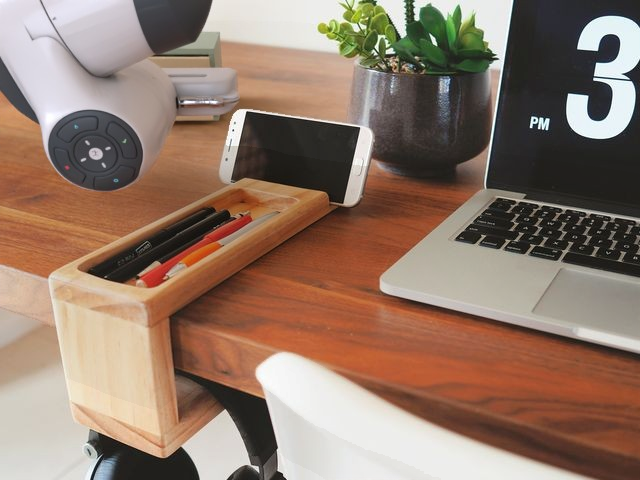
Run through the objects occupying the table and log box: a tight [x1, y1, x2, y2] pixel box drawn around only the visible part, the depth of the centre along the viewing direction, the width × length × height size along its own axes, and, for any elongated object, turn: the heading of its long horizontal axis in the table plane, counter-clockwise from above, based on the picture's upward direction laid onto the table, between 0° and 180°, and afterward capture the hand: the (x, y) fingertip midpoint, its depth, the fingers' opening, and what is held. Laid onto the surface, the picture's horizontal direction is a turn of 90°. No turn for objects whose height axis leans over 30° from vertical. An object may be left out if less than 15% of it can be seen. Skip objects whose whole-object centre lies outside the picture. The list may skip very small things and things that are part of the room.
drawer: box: [146, 54, 214, 120], centre depth 101 cm, size 18×11×8 cm, turn 7°
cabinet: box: [163, 31, 223, 122], centre depth 105 cm, size 15×13×10 cm
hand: (149, 75), depth 82 cm, fingers open, 8 cm apart
